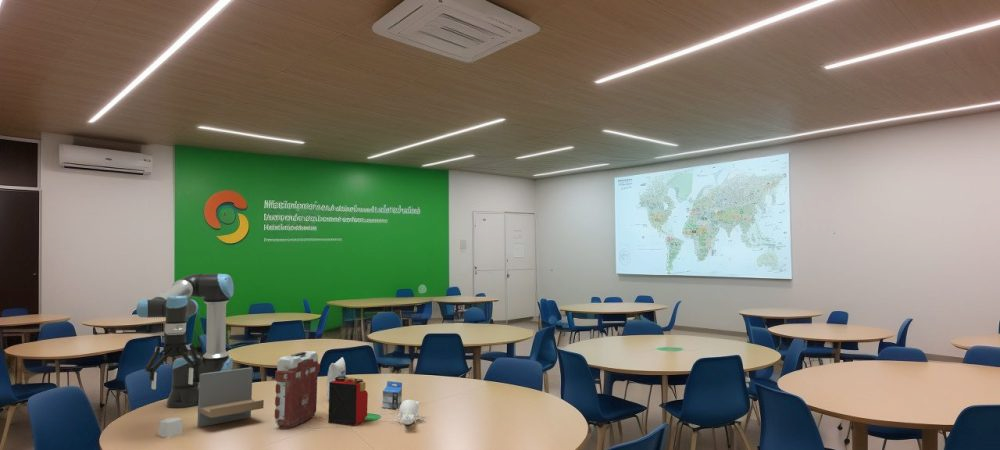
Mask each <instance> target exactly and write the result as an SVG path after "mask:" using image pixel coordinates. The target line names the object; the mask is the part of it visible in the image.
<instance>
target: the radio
mask: <svg viewBox="0 0 1000 450" xmlns="http://www.w3.org/2000/svg"><path fill="white" fill-rule="evenodd" d="M368 396H369V394H368V391H367V390H366V382H365V381H364V379H362V378H354V377H348V376H345V377H344V376H342V377H336V378H335V381H331V382H329V400H328V420H327V421H328V423H329V424H339V425H345V426H346V425H348V426H359V425H360V423H363V422H365V421H366V418H367V416H368V404H369V403H368V398H369V397H368Z"/></svg>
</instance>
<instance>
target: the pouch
mask: <svg viewBox="0 0 1000 450" xmlns="http://www.w3.org/2000/svg"><path fill="white" fill-rule="evenodd" d="M345 361H346V360H345V359H344V357H343V356H342V357H340V359H338V360H337V361H335V363H334V362H332V363H331V364H330V365H329V367H328V370H327V378H326V379H327V381H326V395H327V400H328V401H329V382H331V381H335V378H336V377H342V376H344V377H347V376H346V372H347V369H346V368H347V367H346V362H345Z"/></svg>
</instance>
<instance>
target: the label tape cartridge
mask: <svg viewBox="0 0 1000 450" xmlns="http://www.w3.org/2000/svg"><path fill="white" fill-rule="evenodd" d="M402 394H403V382H402V381H401V382H398V381H390V380H387V381H386V386H385V388H384V389H383V391H382V405H381V407H382V409H386V408H390V409H389V410H395V409H399V408H400V405H401V404H402V402H403V401H402V400H403V399H402V398H403V395H402Z"/></svg>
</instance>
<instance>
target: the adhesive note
mask: <svg viewBox="0 0 1000 450" xmlns="http://www.w3.org/2000/svg"><path fill="white" fill-rule="evenodd" d="M183 422H184V421H183V418H179V417H174V416H173V417H169V418H165V419H161V420H159V421H158V437H163V438H167V439H169V438H173V437H176V436H179V434H180V435H182V434H183ZM175 435H176V436H175ZM172 436H173V437H172ZM168 437H169V438H168Z"/></svg>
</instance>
